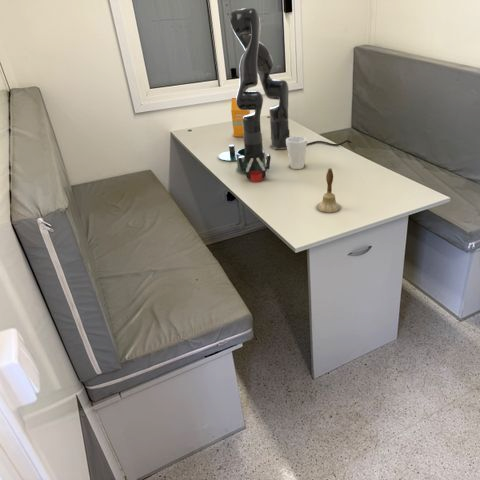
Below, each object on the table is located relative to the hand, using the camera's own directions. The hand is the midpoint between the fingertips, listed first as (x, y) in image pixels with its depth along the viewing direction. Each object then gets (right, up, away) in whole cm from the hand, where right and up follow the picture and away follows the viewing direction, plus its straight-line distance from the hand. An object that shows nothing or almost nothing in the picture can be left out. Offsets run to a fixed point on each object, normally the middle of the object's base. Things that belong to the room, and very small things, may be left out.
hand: (256, 178), depth 188 cm
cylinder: (0, 0, 0) cm, 0 cm away
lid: (-15, +14, +22) cm, 30 cm away
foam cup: (+17, +7, +13) cm, 23 cm away
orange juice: (-15, +32, +54) cm, 65 cm away
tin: (-3, +6, +10) cm, 12 cm away
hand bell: (+31, -15, -23) cm, 41 cm away
